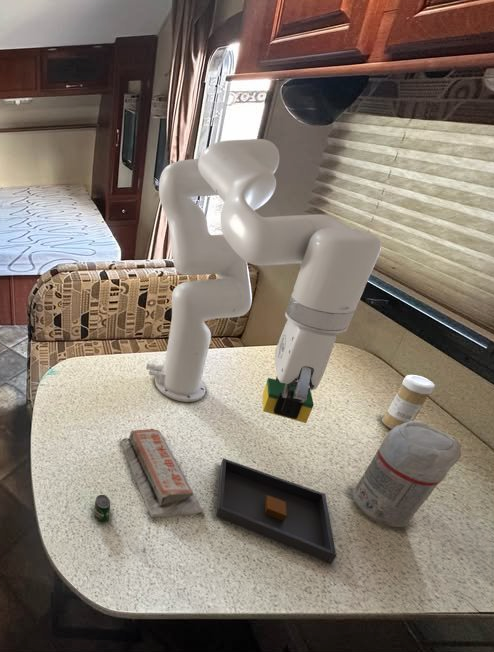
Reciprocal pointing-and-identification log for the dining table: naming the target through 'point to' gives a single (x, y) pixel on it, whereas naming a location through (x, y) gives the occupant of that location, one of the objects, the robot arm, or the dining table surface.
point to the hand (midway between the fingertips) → (283, 404)
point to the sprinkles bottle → (408, 400)
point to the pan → (249, 512)
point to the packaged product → (159, 475)
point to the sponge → (271, 396)
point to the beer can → (102, 508)
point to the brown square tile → (275, 508)
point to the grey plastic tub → (405, 472)
